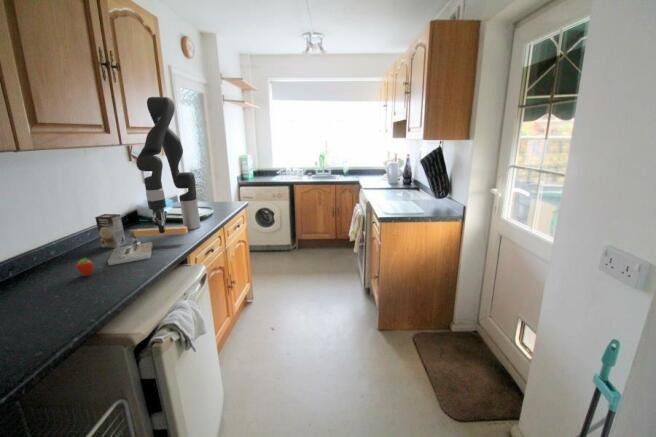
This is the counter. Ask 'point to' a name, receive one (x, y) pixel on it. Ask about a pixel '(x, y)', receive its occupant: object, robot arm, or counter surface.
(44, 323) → the counter surface
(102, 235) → the coffee box
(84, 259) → the fruit
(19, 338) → the counter surface
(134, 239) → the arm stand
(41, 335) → the counter surface
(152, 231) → the swing arm
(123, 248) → the plate
